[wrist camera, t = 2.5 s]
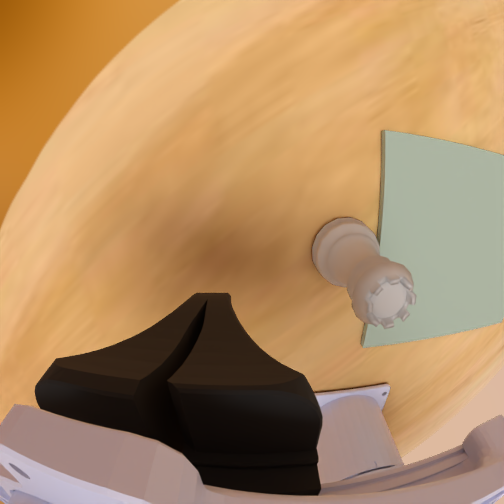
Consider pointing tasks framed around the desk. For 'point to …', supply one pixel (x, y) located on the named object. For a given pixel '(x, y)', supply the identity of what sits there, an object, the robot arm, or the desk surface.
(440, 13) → the desk surface
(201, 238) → the desk surface
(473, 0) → the desk surface
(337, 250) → the rook chess piece
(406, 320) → the mat
